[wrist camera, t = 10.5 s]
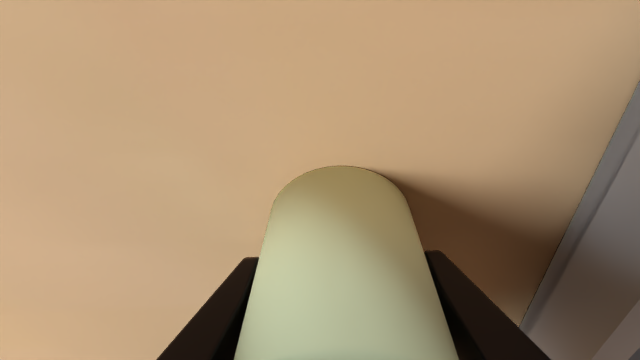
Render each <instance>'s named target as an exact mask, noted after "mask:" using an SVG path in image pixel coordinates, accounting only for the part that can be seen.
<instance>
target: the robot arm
mask: <svg viewBox="0 0 640 360" xmlns="http://www.w3.org/2000/svg"><path fill="white" fill-rule="evenodd" d="M424 254H425V257H426V260H427V263H428V266H429V270H430V273H431V276H432V279H433V282H434V285H435V288H436V291H437V294H438V297H439V300H440V303H441V306H442V309H443V312H444V315H445V318H446V321H447V325H448V328H449V331H450V334H451V337H452V340H453V343H454V346H455V349H456V352H457V355H458V358H459V360H551V359H550V358H549V357H548V356H547V355H546V354H545V353H544V352H543V351H542V350H541V349H540V348H539V347H538V346H537V345H536V344H535V343H534V342H533V341H532V340H531V339H530V338H529V337H528V336H527V335H526V334H525V333H524V332H523V331H522V330H521V329H520V328H519V327H518V326H517V325H516V324H515V323H513V322H512V321H511V320H510V319H509V318H508V317H507V316H506V315H505V314H504V313H503V312H502V311H501V310H500V309H499V308H498V307H497V306H496V305H495V304H494V303H493V302H492V301H491V300H490V299H489V298H488V297H487V296H486V295H485V294H484V293H483V292H482V291H481V290H480V289H479V288H478V287H477V286H476V285H475V284H474V283H473V282H472V281H471V280H470V279H469V278H468V277H467V276H466V275H465V274H464V273H463V272H462V271H461V270H460V269H459V268H458V267H457V266H456V265H455V264H454V263H453V262H452V261H451V260H450V259H448V258H447V257H446V256H445V255H444V254H443V253H442V252H441V251H439V250H433V251H425V252H424ZM258 261H259V257H246V258H244V259H243V260H242V261H241V262H240V263H239V265H238V266H237V267H236V268H235V269H234V270H233V271H232V273H231V274H230V275H229V276H228V277H227V278H226V280H225V281H224V282H223V283H222V284H221V285H220V287H219V288H218V289H217V290H216V291H215V292H214V293H213V295H212V296H211V297H210V298H209V299H208V300H207V302H206V303H205V304H204V305H203V306H202V307H201V309H200V310H199V311H198V312H197V313H196V314H195V316H194V317H193V318H192V319H191V320H190V321H189V322H188V324H187V325H186V326H185V327H184V328H183V329H182V331H181V332H180V333H179V334H178V335H177V336H176V338H175V339H174V340H173V341H172V342H171V343H170V344H169V346H168V347H167V348H166V349H165V350H164V351H163V353H162V354H161V355H160V356H159V357H158V358H157V360H234V357H235V353H236V349H237V345H238V341H239V337H240V333H241V329H242V325H243V321H244V317H245V313H246V309H247V305H248V301H249V297H250V293H251V289H252V285H253V281H254V277H255V273H256V269H257V265H258Z"/></svg>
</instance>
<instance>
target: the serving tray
mask: <svg viewBox="0 0 640 360" xmlns="http://www.w3.org/2000/svg"><path fill="white" fill-rule="evenodd" d="M519 328H520V329H521V330H522V331H523V332H524V333H525V334H526V335H527V336H528V337H529V338H530V339H531V340H532V341H533V342H534V343H535V344H536V345H537V346H538V347H539V348H540V349H541V350H542V351H543V352H544V353H545V354H546V355H547V356H548V357H549V358H550V359H551V360H640V81H639V83H638V85H637V87H636V89H635V92H634V94H633V96H632V98H631V100H630V102H629V104H628V106H627V108H626V110H625V112H624V114H623V116H622V118H621V120H620V122H619V124H618V126H617V128H616V130H615V132H614V134H613V136H612V139H611V141H610V143H609V145H608V147H607V149H606V151H605V153H604V155H603V157H602V159H601V161H600V163H599V165H598V167H597V169H596V171H595V173H594V175H593V177H592V179H591V181H590V183H589V186H588V188H587V190H586V192H585V194H584V196H583V198H582V200H581V202H580V204H579V206H578V208H577V210H576V212H575V214H574V216H573V218H572V220H571V222H570V224H569V226H568V228H567V230H566V233H565V235H564V237H563V239H562V241H561V243H560V245H559V247H558V249H557V251H556V253H555V255H554V257H553V259H552V261H551V263H550V265H549V267H548V269H547V271H546V273H545V275H544V277H543V280H542V282H541V284H540V286H539V288H538V290H537V292H536V294H535V296H534V298H533V300H532V302H531V304H530V306H529V308H528V310H527V312H526V314H525V316H524V318H523V320H522V322H521V324H520V327H519Z"/></svg>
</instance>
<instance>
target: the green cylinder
mask: <svg viewBox="0 0 640 360" xmlns="http://www.w3.org/2000/svg"><path fill="white" fill-rule="evenodd" d="M234 360H459V358H458V355H457V352H456V349H455V346H454V343H453V340H452V337H451V334H450V331H449V328H448V325H447V321H446V318H445V315H444V312H443V309H442V306H441V303H440V300H439V297H438V294H437V291H436V288H435V285H434V282H433V279H432V276H431V273H430V270H429V266H428V263H427V260H426V257H425V254H424V251H423V248H422V245H421V242H420V239H419V236H418V233H417V230H416V227H415V224H414V221H413V218H412V215H411V212H410V208H409V206H408V203H407V200H406V199H405V197H404V195H403V194H402V192H401V191H400V190H399V189H398V188H397V187H396V186H395V185H394V184H393V183H392V182H391V181H389V180H388V179H386V178H385V177H383V176H381V175H379V174H377V173H375V172H372V171H369V170H367V169H362V168H358V167H350V166H332V167H324V168H320V169H315V170H313V171H310V172H307V173H305V174H303V175H301V176H299V177H297V178H296V179H294V180H293V181H291V182H290V183H289V184H287V185H286V186H285V187H284V188H283V189H282V190H281V192H280V193H279V194H278V196H277V197H276V199H275V201H274V203H273V206H272V209H271V213H270V217H269V221H268V225H267V229H266V233H265V237H264V241H263V245H262V249H261V253H260V257H259V261H258V265H257V269H256V273H255V277H254V281H253V285H252V289H251V293H250V297H249V301H248V305H247V309H246V313H245V317H244V321H243V325H242V329H241V333H240V337H239V341H238V345H237V349H236V353H235V357H234Z"/></svg>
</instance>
